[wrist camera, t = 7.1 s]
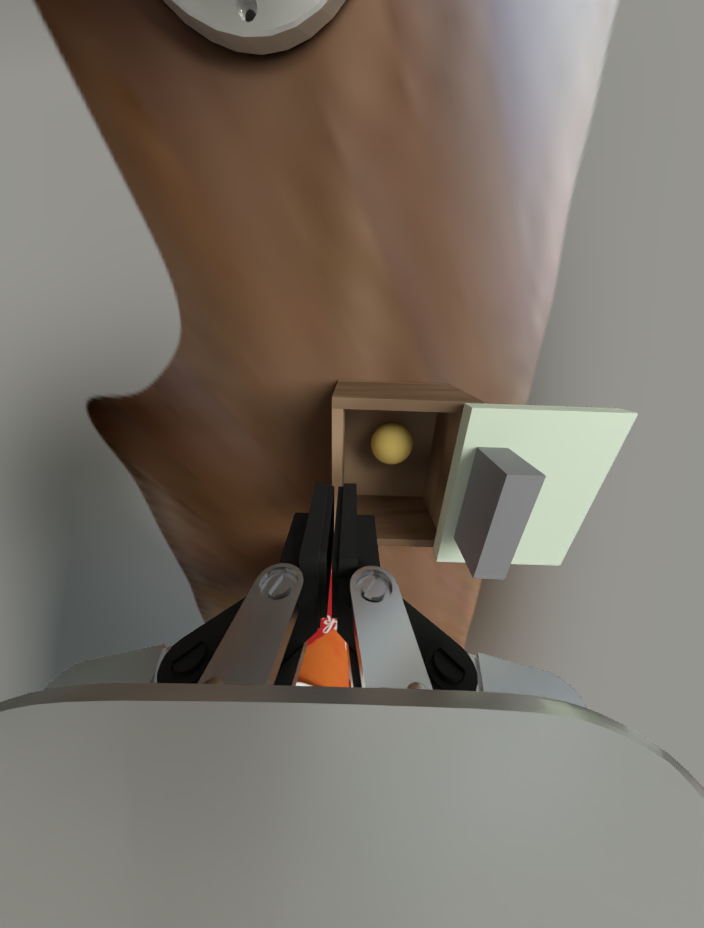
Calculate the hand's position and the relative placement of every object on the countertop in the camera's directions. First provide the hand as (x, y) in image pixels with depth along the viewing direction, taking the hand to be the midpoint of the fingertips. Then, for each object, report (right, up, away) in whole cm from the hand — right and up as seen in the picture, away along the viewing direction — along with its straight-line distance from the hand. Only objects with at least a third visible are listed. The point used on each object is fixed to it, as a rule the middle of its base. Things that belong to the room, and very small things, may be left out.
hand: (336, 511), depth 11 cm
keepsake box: (+3, +4, +10) cm, 11 cm away
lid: (+10, +1, +4) cm, 11 cm away
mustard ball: (+3, +4, +8) cm, 9 cm away
